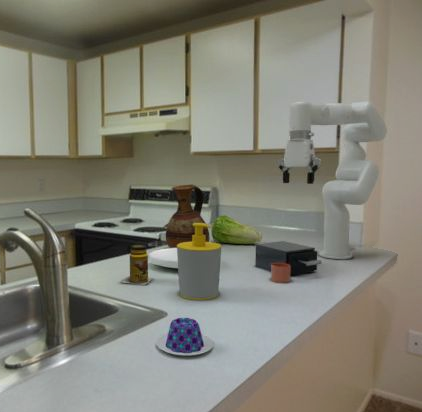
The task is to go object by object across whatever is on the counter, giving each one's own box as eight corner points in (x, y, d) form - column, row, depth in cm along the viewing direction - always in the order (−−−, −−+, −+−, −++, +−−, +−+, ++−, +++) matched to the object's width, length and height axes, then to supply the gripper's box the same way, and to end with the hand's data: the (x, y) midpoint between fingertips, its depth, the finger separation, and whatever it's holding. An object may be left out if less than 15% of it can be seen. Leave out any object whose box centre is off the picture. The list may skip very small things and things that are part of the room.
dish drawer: (328, 273, 140) (329, 253, 139) (301, 277, 135) (302, 257, 134) (286, 261, 158) (287, 244, 157) (261, 265, 152) (261, 247, 152)
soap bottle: (210, 303, 113) (210, 228, 111) (169, 296, 120) (168, 224, 118) (227, 291, 124) (228, 222, 122) (188, 285, 131) (188, 219, 129)
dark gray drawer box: (314, 271, 146) (314, 247, 146) (285, 276, 141) (286, 251, 140) (282, 262, 160) (283, 240, 160) (255, 266, 155) (255, 244, 154)
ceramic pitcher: (156, 249, 188) (156, 184, 185) (186, 243, 202) (186, 183, 199) (188, 256, 174) (188, 185, 171) (218, 249, 187) (218, 184, 184)
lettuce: (262, 247, 204) (255, 256, 191) (215, 236, 214) (206, 243, 201) (267, 220, 200) (260, 227, 188) (219, 210, 211) (210, 216, 198)
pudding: (150, 337, 91) (150, 314, 90) (201, 331, 94) (201, 309, 93) (164, 362, 79) (164, 336, 79) (222, 355, 82) (222, 329, 82)
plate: (155, 245, 174) (219, 247, 168) (155, 260, 174) (219, 263, 168) (142, 251, 146) (217, 254, 141) (141, 269, 146) (217, 273, 141)
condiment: (145, 285, 131) (145, 248, 130) (120, 283, 134) (120, 247, 133) (151, 279, 138) (151, 244, 137) (128, 277, 141) (128, 243, 140)
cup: (280, 277, 139) (281, 262, 139) (294, 281, 134) (294, 265, 134) (267, 279, 137) (267, 264, 136) (280, 283, 132) (280, 267, 131)
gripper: (327, 135, 145) (325, 183, 147) (284, 138, 159) (282, 182, 160) (316, 134, 141) (314, 184, 142) (273, 137, 154) (271, 183, 155)
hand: (297, 183), depth 151 cm, fingers open, 9 cm apart
